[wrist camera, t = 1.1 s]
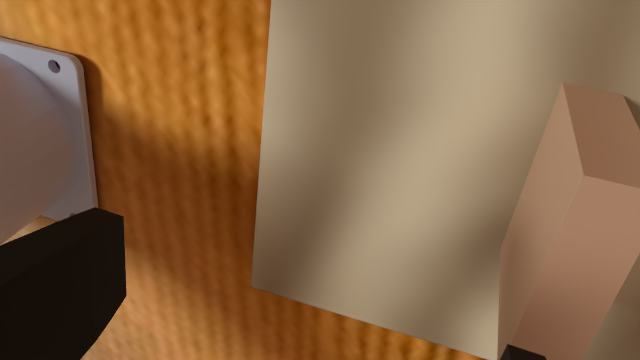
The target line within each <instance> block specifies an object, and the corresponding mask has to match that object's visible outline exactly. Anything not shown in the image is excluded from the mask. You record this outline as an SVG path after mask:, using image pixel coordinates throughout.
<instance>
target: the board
mask: <svg viewBox="0 0 640 360" xmlns="http://www.w3.org/2000/svg"><path fill="white" fill-rule="evenodd" d="M562 82H564V83H569V84H573V85H578V86H583V87H588V88H593V89H597V90H602V91H607V92H612V93H616V94H621V95H623V96H624V98H625V101H626V103H627V105H628V107H629V109H630V111H631V113H632V115H633V117H634V120H635V122H636V124H637V126H638V128H639V130H640V0H271V14H270V28H269V42H268V55H267V69H266V83H265V97H264V110H263V124H262V138H261V151H260V165H259V179H258V193H257V206H256V220H255V234H254V248H253V261H252V275H251V287H252V288H255V289H258V290H262V291H265V292H268V293H272V294H275V295H278V296H281V297H285V298H288V299H291V300H295V301H298V302H301V303H304V304H308V305H311V306H314V307H318V308H321V309H324V310H327V311H331V312H334V313H337V314H340V315H344V316H347V317H350V318H354V319H357V320H360V321H363V322H367V323H370V324H373V325H377V326H380V327H383V328H386V329H390V330H393V331H396V332H400V333H403V334H406V335H409V336H413V337H416V338H419V339H423V340H426V341H429V342H432V343H436V344H439V345H442V346H445V347H449V348H452V349H455V350H459V351H462V352H465V353H468V354H472V355H475V356H478V357H482V358H485V359H488V360H497V350H498V313H499V276H500V249H501V246H502V244H503V241H504V238H505V236H506V233H507V230H508V227H509V225H510V222H511V219H512V217H513V214H514V211H515V209H516V206H517V203H518V201H519V198H520V195H521V192H522V190H523V187H524V184H525V182H526V179H527V176H528V174H529V171H530V168H531V165H532V163H533V160H534V157H535V155H536V152H537V149H538V147H539V144H540V141H541V139H542V136H543V133H544V130H545V128H546V125H547V122H548V120H549V117H550V114H551V112H552V109H553V106H554V104H555V101H556V98H557V95H558V93H559V90H560V87H561V85H562ZM582 360H640V253H639V255H638V257H637V259H636V261H635V263H634V264H633V266H632V268H631V270H630V272H629V274H628V276H627V277H626V279H625V281H624V283H623V285H622V287H621V288H620V290H619V292H618V294H617V296H616V298H615V300H614V301H613V303H612V305H611V307H610V309H609V311H608V312H607V314H606V316H605V318H604V320H603V322H602V324H601V325H600V327H599V329H598V331H597V333H596V335H595V336H594V338H593V340H592V342H591V344H590V346H589V348H588V349H587V351H586V353H585V355H584V357H583V359H582Z"/></svg>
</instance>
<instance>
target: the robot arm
mask: <svg viewBox="0 0 640 360" xmlns="http://www.w3.org/2000/svg"><path fill="white" fill-rule="evenodd" d="M55 61H56V62H57V63H58V64H59V66H60V69H59V68H58V67H57V66H56V63H55ZM39 215H40V216H44V217H47V218H50V219H54V220H57V221H58V222H56V223H53V224H51V225H49V226H46V227H44V228H41V229H39V230H37V231H34V232H32V233H30V234H27V235H25V236H22V237H20V238H18V239H15V240H13V241H10V242H8V243H5V244H3V245H1V244H2V243H4V242H5V241H6V240H8V239H9V238H10V237H12V236H13V235H14V234H16V233H17V232H18V231H20V230H21V229H22V228H23V227H25V226H26V225H27V224H29V223H30V222H31V221H33V220H34V219H35V218H37V217H38V216H39ZM125 297H126V271H125V246H124V221H123V216H120V215H117V214H114V213H111V212H108V211H105V210H102V209H99V208H98V198H97V189H96V180H95V171H94V162H93V153H92V143H91V134H90V125H89V116H88V107H87V97H86V88H85V79H84V70H83V66H82V63H81V62H80V60H79V59H78V58H77V57H76V56H74V55H72V54H69V53H65V52H61V51H56V50H52V49H48V48H44V47H40V46H35V45H31V44H27V43H23V42H19V41H14V40H10V39H6V38H2V37H0V360H80V359H81V358H82V357H83V356H84V354H85V353H86V352H87V351H88V350H89V349H90V347H91V346H92V345H93V344H94V343H95V342H96V340H97V339H98V337H99V336H100V335H101V333H102V332H103V330H104V329H105V327H106V326H107V325H108V323H109V322H110V320H111V319H112V317H113V316H114V314H115V313H116V311H117V310H118V308H119V306H120V305H121V303H122V302H123V300H124V299H125ZM500 360H547V359H546V358H545V356H543V355H540V354H537V353H534V352H531V351H528V350H525V349H522V348H519V347H516V346H512V345H509V344H507V346H506V348H505V350H504V352H503V354H502V356H501V358H500Z"/></svg>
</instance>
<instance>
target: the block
mask: <svg viewBox="0 0 640 360" xmlns="http://www.w3.org/2000/svg"><path fill="white" fill-rule="evenodd" d="M639 253H640V130H639V128H638V126H637V124H636V122H635V120H634V117H633V115H632V113H631V111H630V109H629V107H628V105H627V103H626V101H625V98H624V96H623V95H621V94H616V93H612V92H607V91H602V90H597V89H593V88H588V87H583V86H578V85H573V84H569V83H564V82H562V85H561V87H560V90H559V93H558V95H557V98H556V101H555V104H554V106H553V109H552V112H551V114H550V117H549V120H548V122H547V125H546V128H545V130H544V133H543V136H542V139H541V141H540V144H539V147H538V149H537V152H536V155H535V157H534V160H533V163H532V165H531V168H530V171H529V174H528V176H527V179H526V182H525V184H524V187H523V190H522V192H521V195H520V198H519V201H518V203H517V206H516V209H515V211H514V214H513V217H512V219H511V222H510V225H509V227H508V230H507V233H506V236H505V238H504V241H503V244H502V246H501V249H500V276H499V313H498V350H497V360H500V358H501V356H502V354H503V352H504V350H505V348H506V346H507V344H509V345H512V346H516V347H519V348H522V349H525V350H528V351H531V352H534V353H537V354H540V355H543V356H545V358H546V359H547V360H582V359H583V357H584V355H585V353H586V351H587V349H588V348H589V346H590V344H591V342H592V340H593V338H594V336H595V335H596V333H597V331H598V329H599V327H600V325H601V324H602V322H603V320H604V318H605V316H606V314H607V312H608V311H609V309H610V307H611V305H612V303H613V301H614V300H615V298H616V296H617V294H618V292H619V290H620V288H621V287H622V285H623V283H624V281H625V279H626V277H627V276H628V274H629V272H630V270H631V268H632V266H633V264H634V263H635V261H636V259H637V257H638V255H639Z"/></svg>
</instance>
